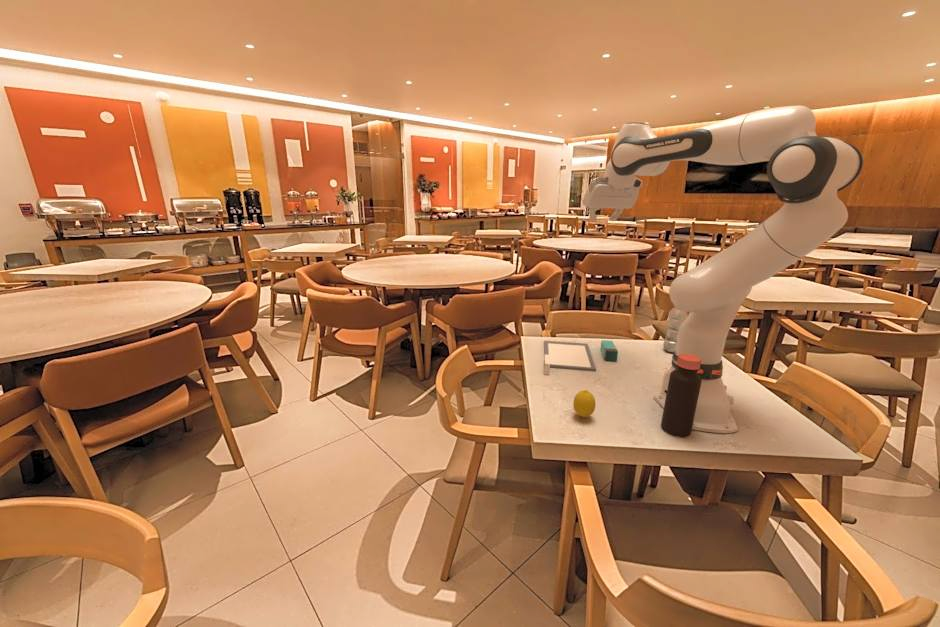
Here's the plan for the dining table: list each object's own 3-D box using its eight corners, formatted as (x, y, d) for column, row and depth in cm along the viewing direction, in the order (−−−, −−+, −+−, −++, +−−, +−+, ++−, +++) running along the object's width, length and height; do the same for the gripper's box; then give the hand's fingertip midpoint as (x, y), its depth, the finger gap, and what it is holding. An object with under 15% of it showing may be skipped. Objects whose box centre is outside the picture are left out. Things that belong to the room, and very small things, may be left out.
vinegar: (660, 433, 94) (673, 359, 88) (660, 419, 100) (673, 349, 94) (691, 441, 91) (707, 365, 85) (690, 426, 97) (705, 355, 91)
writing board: (595, 371, 127) (596, 368, 127) (544, 367, 130) (545, 364, 130) (587, 345, 150) (587, 343, 150) (543, 342, 153) (544, 340, 152)
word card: (549, 375, 124) (550, 364, 123) (544, 374, 124) (545, 363, 123) (548, 365, 132) (549, 354, 131) (543, 364, 132) (544, 354, 131)
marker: (616, 362, 135) (618, 351, 134) (604, 361, 136) (606, 350, 134) (610, 348, 147) (611, 339, 146) (599, 347, 148) (600, 338, 147)
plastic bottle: (664, 353, 143) (672, 302, 137) (660, 347, 149) (669, 298, 143) (682, 355, 141) (692, 304, 135) (679, 349, 147) (688, 299, 141)
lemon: (570, 411, 103) (572, 385, 101) (590, 411, 103) (593, 385, 100) (574, 422, 98) (577, 395, 95) (596, 423, 98) (599, 395, 95)
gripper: (599, 179, 112) (585, 224, 120) (646, 182, 121) (630, 223, 128) (586, 174, 117) (572, 217, 124) (632, 177, 126) (617, 217, 133)
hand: (602, 220), depth 126 cm, fingers open, 8 cm apart
